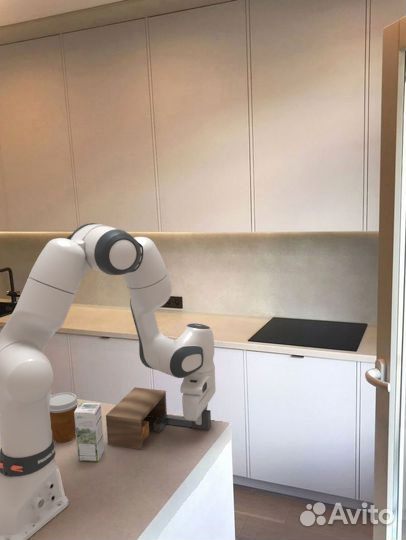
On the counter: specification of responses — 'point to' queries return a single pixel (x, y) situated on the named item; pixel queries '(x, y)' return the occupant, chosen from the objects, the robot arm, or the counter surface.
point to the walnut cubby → (134, 416)
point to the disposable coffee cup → (63, 416)
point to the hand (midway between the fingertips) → (201, 420)
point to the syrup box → (89, 431)
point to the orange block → (145, 429)
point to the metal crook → (182, 421)
